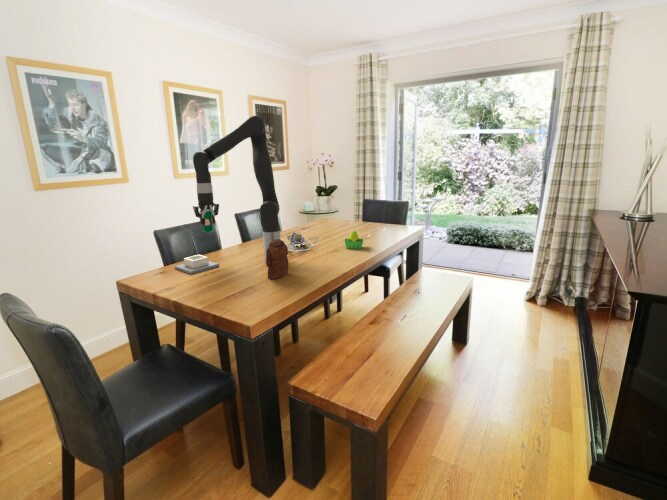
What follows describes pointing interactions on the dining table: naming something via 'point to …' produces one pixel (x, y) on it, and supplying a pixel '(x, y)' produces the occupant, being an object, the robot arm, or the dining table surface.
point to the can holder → (196, 264)
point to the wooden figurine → (277, 259)
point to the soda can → (208, 221)
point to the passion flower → (296, 238)
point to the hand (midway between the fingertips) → (208, 224)
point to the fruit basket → (353, 241)
